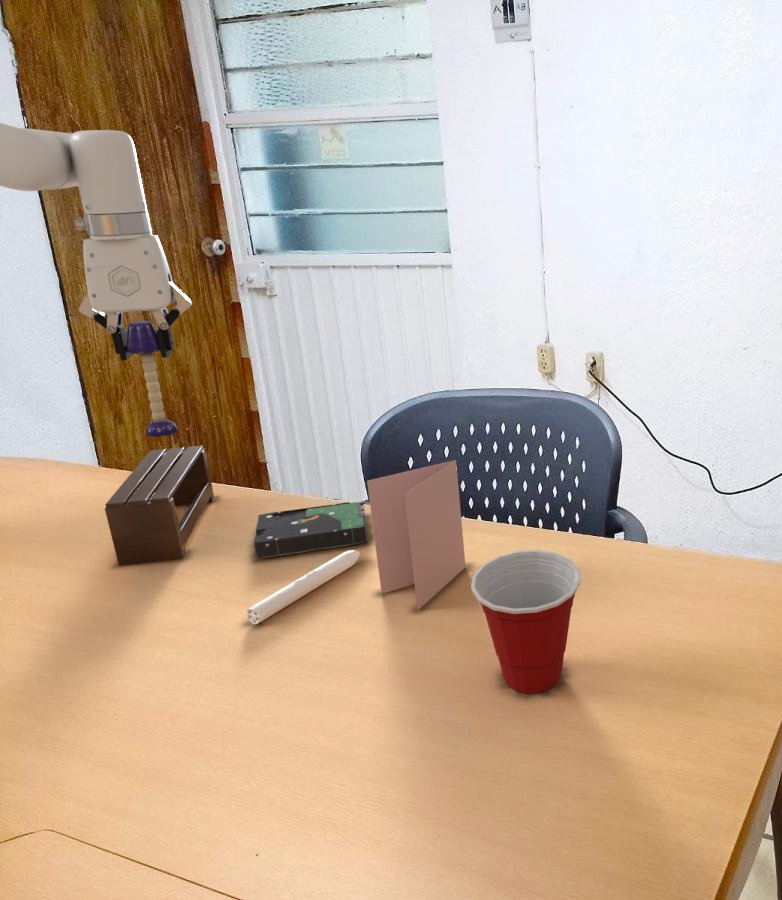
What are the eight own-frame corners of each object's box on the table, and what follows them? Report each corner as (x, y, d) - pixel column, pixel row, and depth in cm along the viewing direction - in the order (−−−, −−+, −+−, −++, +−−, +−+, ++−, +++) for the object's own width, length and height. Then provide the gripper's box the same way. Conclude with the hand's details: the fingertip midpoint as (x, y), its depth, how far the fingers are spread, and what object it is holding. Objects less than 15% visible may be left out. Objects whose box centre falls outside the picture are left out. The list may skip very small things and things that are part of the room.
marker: (354, 557, 112) (352, 542, 111) (366, 560, 111) (364, 544, 110) (247, 622, 97) (244, 604, 96) (260, 626, 96) (257, 608, 95)
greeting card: (462, 564, 109) (452, 458, 104) (488, 586, 103) (479, 474, 98) (379, 590, 103) (364, 478, 98) (401, 615, 97) (387, 498, 92)
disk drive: (257, 562, 112) (369, 543, 116) (253, 543, 111) (367, 525, 115) (260, 531, 121) (365, 515, 125) (257, 514, 120) (362, 497, 124)
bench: (118, 565, 111) (103, 504, 108) (160, 503, 132) (148, 450, 128) (182, 558, 113) (169, 497, 110) (214, 497, 133) (204, 445, 130)
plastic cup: (466, 708, 81) (455, 599, 77) (494, 646, 91) (486, 547, 87) (575, 715, 79) (570, 605, 75) (592, 651, 89) (589, 552, 85)
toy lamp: (187, 429, 125) (165, 319, 119) (163, 439, 121) (139, 325, 115) (162, 427, 126) (138, 318, 121) (137, 436, 122) (112, 324, 116)
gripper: (39, 231, 108) (72, 367, 114) (179, 226, 112) (204, 358, 118) (61, 227, 115) (91, 355, 121) (192, 222, 119) (215, 347, 125)
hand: (146, 355), depth 119 cm, fingers closed on toy lamp, 4 cm apart
